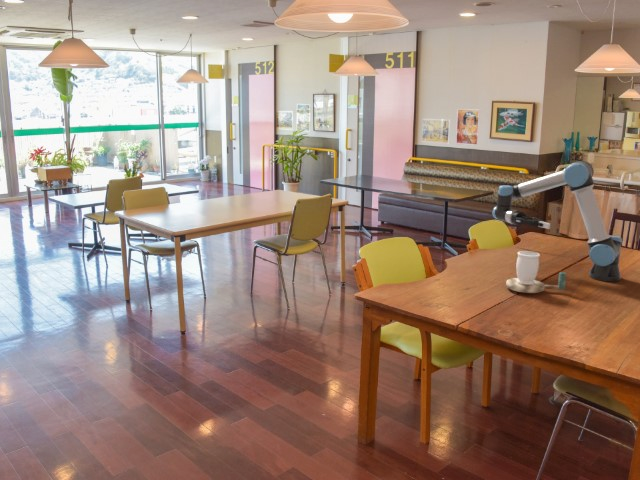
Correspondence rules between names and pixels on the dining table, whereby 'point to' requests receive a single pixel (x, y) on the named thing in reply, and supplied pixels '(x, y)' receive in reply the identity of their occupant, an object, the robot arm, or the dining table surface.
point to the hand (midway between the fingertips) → (549, 226)
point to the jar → (527, 267)
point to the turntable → (536, 285)
